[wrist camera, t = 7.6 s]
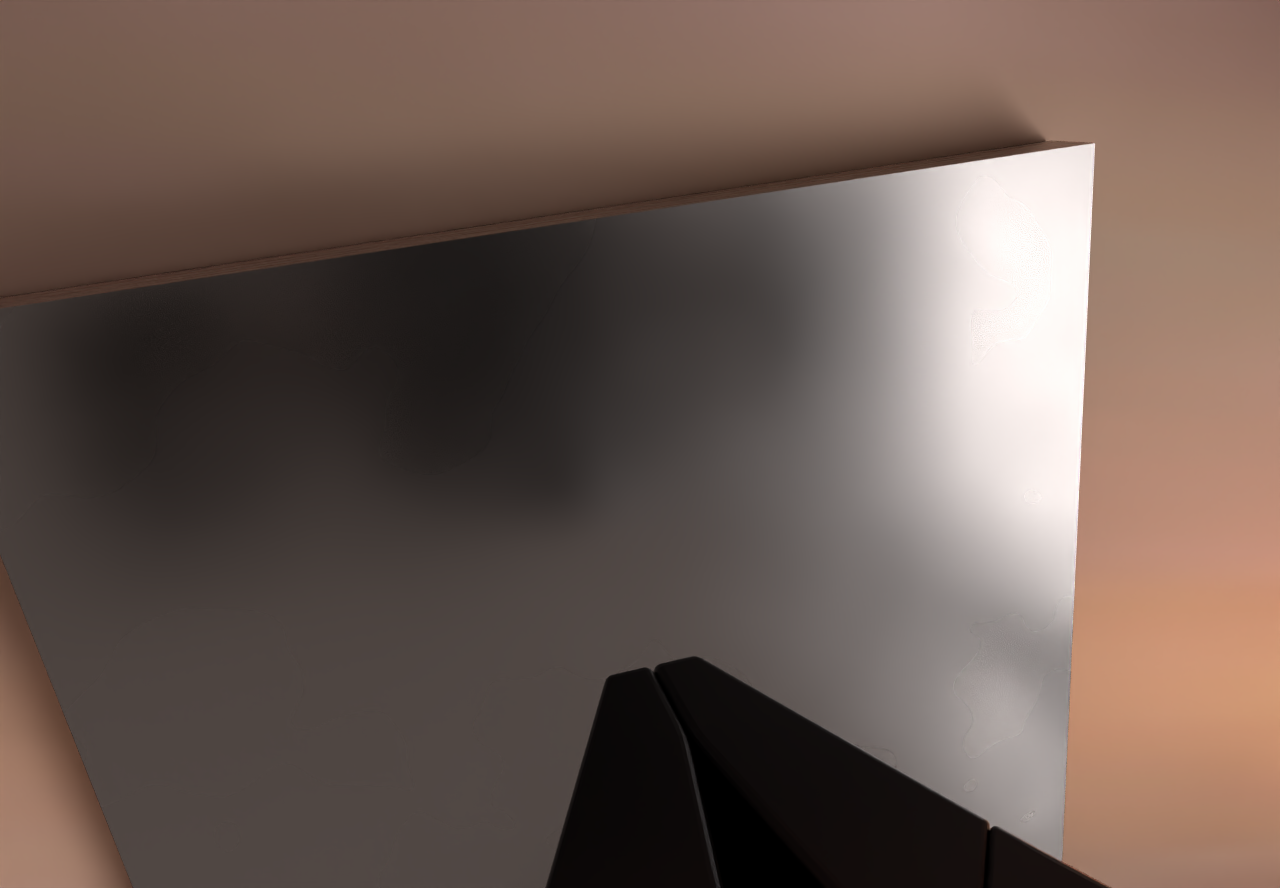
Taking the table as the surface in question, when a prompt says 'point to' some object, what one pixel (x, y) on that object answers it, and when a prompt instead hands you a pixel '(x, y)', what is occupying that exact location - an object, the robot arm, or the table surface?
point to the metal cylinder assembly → (555, 511)
